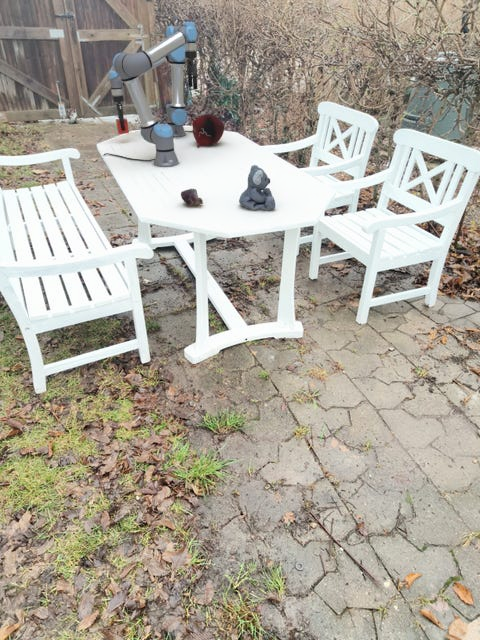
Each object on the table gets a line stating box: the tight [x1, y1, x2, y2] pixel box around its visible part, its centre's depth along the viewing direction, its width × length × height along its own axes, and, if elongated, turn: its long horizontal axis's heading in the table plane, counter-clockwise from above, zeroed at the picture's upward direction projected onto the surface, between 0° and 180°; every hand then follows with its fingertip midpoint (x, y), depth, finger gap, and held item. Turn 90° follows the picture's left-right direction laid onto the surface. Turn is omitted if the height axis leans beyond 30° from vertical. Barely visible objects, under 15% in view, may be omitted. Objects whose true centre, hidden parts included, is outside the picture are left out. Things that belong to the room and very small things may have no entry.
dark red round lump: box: [190, 113, 225, 149], centre depth 332 cm, size 21×24×25 cm
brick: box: [115, 118, 130, 135], centre depth 335 cm, size 5×8×9 cm, turn 110°
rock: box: [180, 188, 204, 207], centre depth 229 cm, size 12×9×10 cm
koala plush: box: [238, 164, 276, 211], centre depth 224 cm, size 17×18×20 cm
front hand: (192, 88), depth 298 cm, fingers open, 13 cm apart
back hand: (122, 129), depth 336 cm, fingers closed on brick, 5 cm apart
